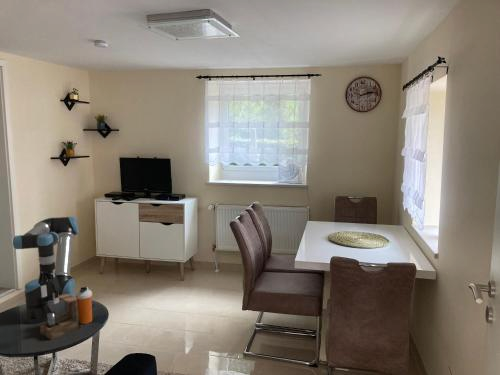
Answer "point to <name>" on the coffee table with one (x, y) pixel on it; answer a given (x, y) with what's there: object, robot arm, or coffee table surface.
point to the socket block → (63, 319)
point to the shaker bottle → (84, 305)
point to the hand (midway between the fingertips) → (50, 299)
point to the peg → (51, 319)
